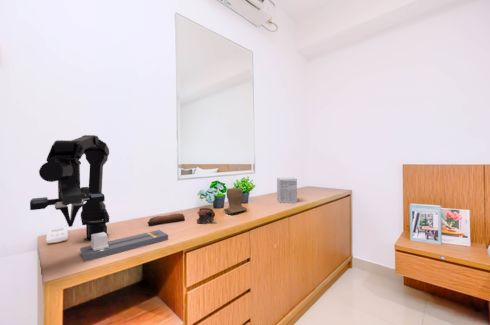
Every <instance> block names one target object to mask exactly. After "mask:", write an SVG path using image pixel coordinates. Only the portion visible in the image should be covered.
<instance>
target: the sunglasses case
mask: <svg viewBox="0 0 490 325" xmlns="http://www.w3.org/2000/svg"><path fill="white" fill-rule="evenodd" d="M177 221H185V215H184V214H183V213H178V212H177V213H172V214H168V215H167V214H166V215H157V216H156V215H155V216H153V217H151V218H150V219H149V220H148V221H147V222H146V223H147V225H148V227H150V226H155V225H158V224H163V223H171V222H177Z"/></svg>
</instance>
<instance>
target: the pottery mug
mask: <svg viewBox="0 0 490 325" xmlns="http://www.w3.org/2000/svg"><path fill="white" fill-rule="evenodd" d="M196 214H197V215H198V218H196V223H197V224H206V225H207V224H208V222H212V221H213V220H214V218H215V217H216V212H215V211H214V210H213V209H212V208H211V207H210V208H209V207H202V208H199V210H198V212H197V213H196Z"/></svg>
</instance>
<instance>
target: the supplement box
mask: <svg viewBox="0 0 490 325" xmlns="http://www.w3.org/2000/svg"><path fill="white" fill-rule="evenodd" d="M276 196H277V197H276V198H277V199H276V200H277V201H278V203H280V204H281V203H282V204H283V203H285V204H286V203H287V204H289V203H291V204H292V203H295V204H297V203H298V180H297V178H295V177H277V178H276Z"/></svg>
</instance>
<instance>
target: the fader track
mask: <svg viewBox="0 0 490 325" xmlns="http://www.w3.org/2000/svg"><path fill="white" fill-rule="evenodd" d="M168 240H169V234H168V233H166V232H165V231H162V230H160V229H157V230H152V231H147V232H143V233H139V234H135V235H129V236H127V237H126V236H125V237H122V238H121V237H120V238H117V239H113V240H108V245H109V248H105V249H101V250H97V251H93V249H92V248H91V246H90V245H87V246H83V247H79V249H80V256H81V257H82V260H83V262H87V261H88V262H89V261H93V260H95V259H100V258H104V257H107V256H110V255H114V254H119V253H123V252H127V251H130V250H134V249H137V248H142V247H146V246H149V245H152V244H153V245H154V244H157V243H160V242H163V241H168Z"/></svg>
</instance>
